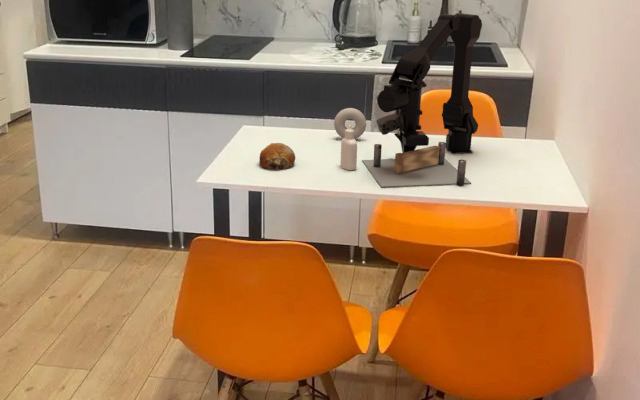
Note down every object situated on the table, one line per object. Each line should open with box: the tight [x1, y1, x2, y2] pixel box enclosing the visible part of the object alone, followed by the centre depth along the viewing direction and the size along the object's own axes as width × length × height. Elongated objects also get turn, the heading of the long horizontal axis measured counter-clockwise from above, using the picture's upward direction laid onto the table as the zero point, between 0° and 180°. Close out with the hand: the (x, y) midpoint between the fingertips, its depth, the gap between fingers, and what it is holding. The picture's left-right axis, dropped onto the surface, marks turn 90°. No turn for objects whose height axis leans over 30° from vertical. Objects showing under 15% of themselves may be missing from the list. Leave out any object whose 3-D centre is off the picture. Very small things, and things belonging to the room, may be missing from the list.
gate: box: [394, 145, 440, 173], centre depth 194 cm, size 15×2×5 cm, turn 126°
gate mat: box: [361, 158, 472, 189], centre depth 194 cm, size 24×22×1 cm
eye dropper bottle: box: [340, 124, 358, 171], centre depth 195 cm, size 4×6×12 cm
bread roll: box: [259, 142, 296, 171], centre depth 198 cm, size 10×10×8 cm
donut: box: [333, 107, 367, 140], centre depth 221 cm, size 10×4×10 cm, turn 84°
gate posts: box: [373, 141, 467, 187], centre depth 190 cm, size 20×18×6 cm
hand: (406, 160), depth 196 cm, fingers closed
